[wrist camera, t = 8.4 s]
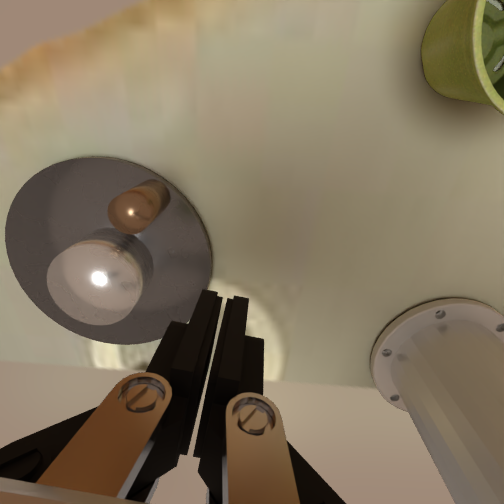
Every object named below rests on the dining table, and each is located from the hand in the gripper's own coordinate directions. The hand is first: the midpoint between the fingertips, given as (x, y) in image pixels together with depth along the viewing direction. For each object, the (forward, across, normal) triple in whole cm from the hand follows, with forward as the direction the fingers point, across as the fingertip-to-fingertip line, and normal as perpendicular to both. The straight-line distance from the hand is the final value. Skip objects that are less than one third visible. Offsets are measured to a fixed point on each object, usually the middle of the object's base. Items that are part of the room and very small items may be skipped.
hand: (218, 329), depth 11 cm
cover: (+13, +9, +5) cm, 17 cm away
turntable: (+14, +10, +5) cm, 18 cm away
